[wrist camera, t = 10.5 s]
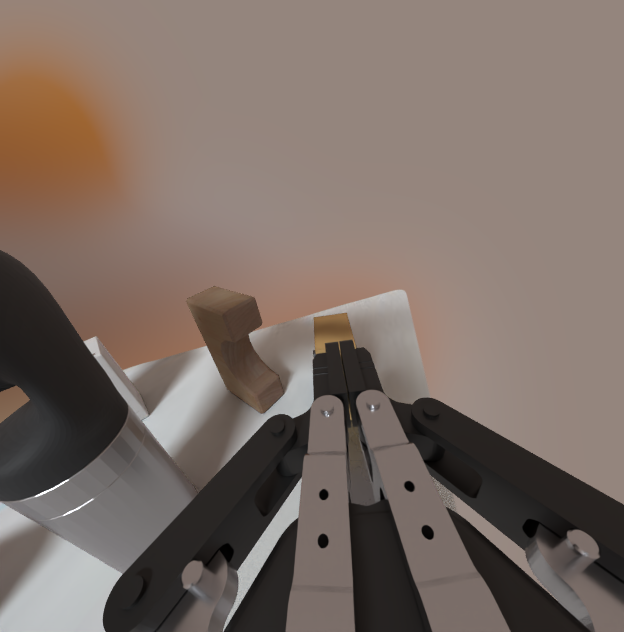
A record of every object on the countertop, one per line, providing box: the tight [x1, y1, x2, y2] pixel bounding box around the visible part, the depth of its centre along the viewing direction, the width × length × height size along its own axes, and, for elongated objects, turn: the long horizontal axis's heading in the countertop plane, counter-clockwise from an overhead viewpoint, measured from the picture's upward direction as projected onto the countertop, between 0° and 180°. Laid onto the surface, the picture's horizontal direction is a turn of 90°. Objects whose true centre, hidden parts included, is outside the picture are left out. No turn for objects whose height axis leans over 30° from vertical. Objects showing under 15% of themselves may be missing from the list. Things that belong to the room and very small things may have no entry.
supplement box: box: [84, 337, 149, 420], centre depth 42 cm, size 9×9×15 cm
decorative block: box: [186, 286, 284, 414], centre depth 41 cm, size 11×6×20 cm, turn 50°
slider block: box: [314, 313, 356, 420], centre depth 37 cm, size 8×5×14 cm, turn 1°
